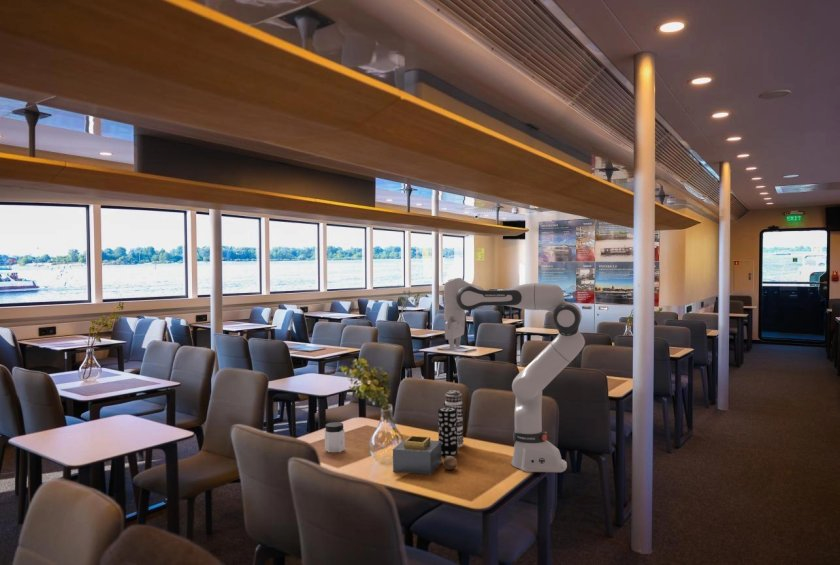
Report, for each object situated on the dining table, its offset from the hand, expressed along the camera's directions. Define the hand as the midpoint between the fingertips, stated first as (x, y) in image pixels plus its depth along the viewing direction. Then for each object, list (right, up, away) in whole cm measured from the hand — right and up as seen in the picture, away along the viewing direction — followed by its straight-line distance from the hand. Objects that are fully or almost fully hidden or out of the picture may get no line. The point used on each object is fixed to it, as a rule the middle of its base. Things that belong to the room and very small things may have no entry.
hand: (455, 348), depth 249 cm
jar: (-54, -49, +16) cm, 75 cm away
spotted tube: (-3, -48, +7) cm, 49 cm away
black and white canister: (+1, -48, +22) cm, 53 cm away
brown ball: (-3, -48, -13) cm, 50 cm away
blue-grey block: (-16, -49, -9) cm, 52 cm away
